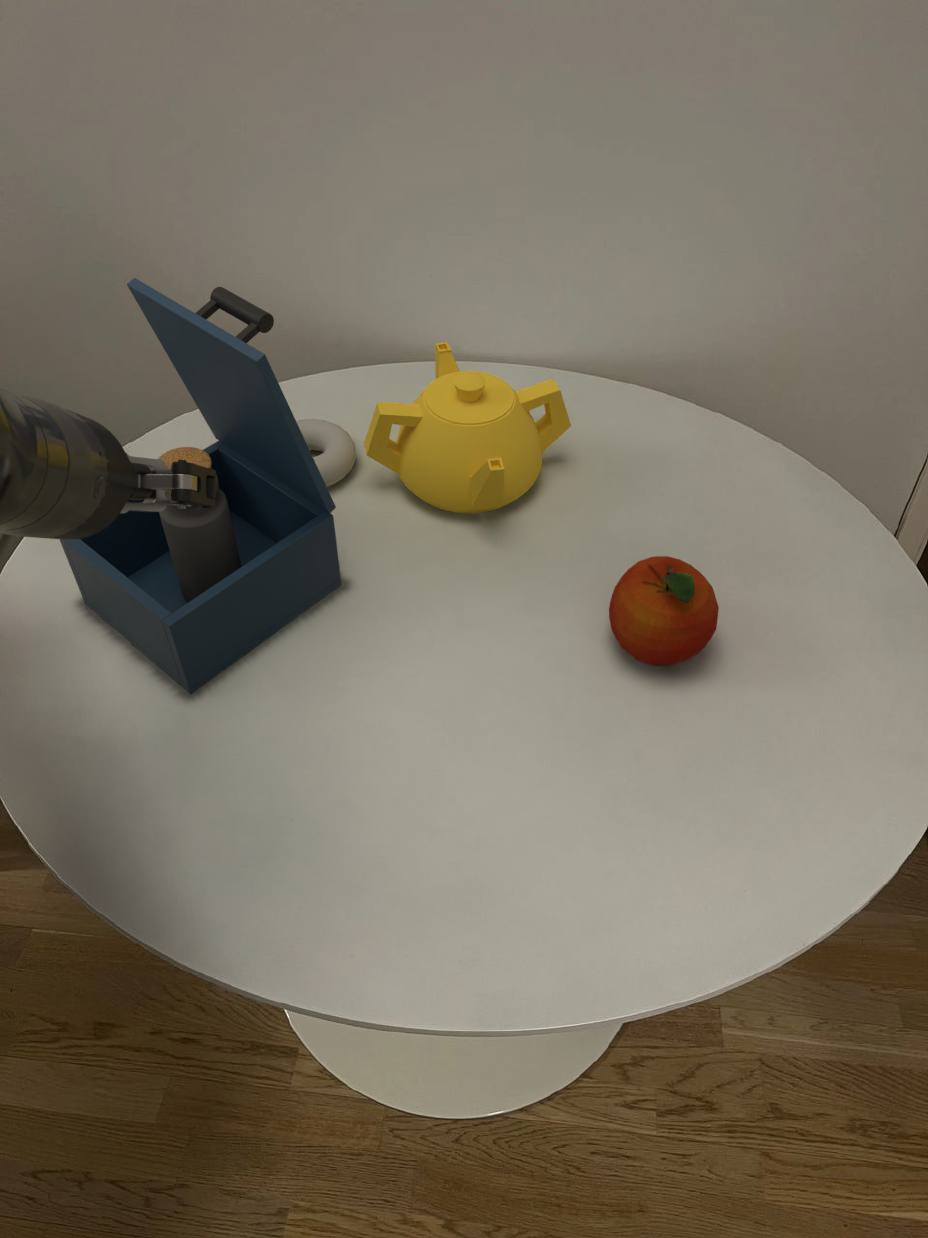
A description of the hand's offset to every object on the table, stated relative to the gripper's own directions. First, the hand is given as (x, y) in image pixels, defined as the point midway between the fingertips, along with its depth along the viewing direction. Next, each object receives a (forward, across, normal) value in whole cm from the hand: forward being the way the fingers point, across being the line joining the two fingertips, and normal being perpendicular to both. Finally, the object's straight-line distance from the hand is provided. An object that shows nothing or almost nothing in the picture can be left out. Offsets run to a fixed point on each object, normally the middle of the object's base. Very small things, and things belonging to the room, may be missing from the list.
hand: (133, 492), depth 72 cm
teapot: (+36, -24, -5) cm, 43 cm away
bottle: (+22, 0, +8) cm, 23 cm away
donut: (+36, -7, -5) cm, 38 cm away
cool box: (+23, 0, +8) cm, 24 cm away
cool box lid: (+13, -4, -8) cm, 16 cm away
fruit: (+19, -42, +12) cm, 47 cm away
